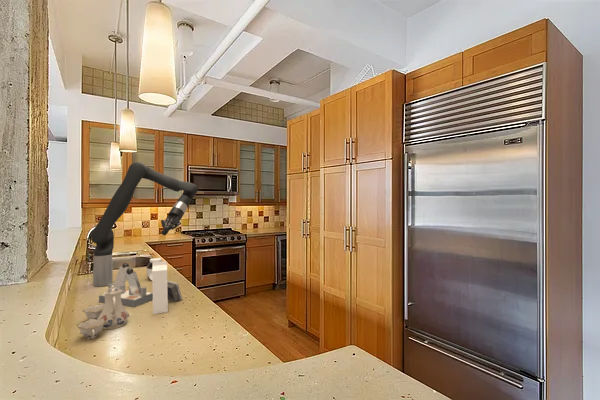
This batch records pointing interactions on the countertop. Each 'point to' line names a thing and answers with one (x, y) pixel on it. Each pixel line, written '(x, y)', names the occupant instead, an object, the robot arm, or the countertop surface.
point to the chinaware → (104, 314)
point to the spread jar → (149, 267)
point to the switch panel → (131, 296)
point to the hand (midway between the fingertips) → (163, 234)
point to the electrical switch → (173, 291)
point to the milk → (159, 287)
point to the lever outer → (133, 281)
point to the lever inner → (121, 275)
